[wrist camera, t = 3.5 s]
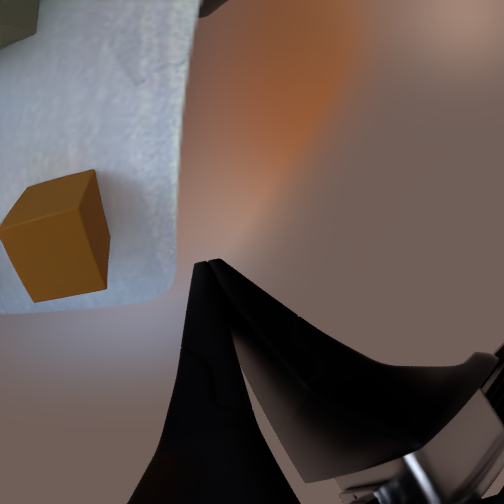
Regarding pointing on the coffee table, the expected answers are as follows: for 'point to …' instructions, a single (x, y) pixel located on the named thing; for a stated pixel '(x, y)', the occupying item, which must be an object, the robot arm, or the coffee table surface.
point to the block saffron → (59, 237)
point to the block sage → (17, 20)
